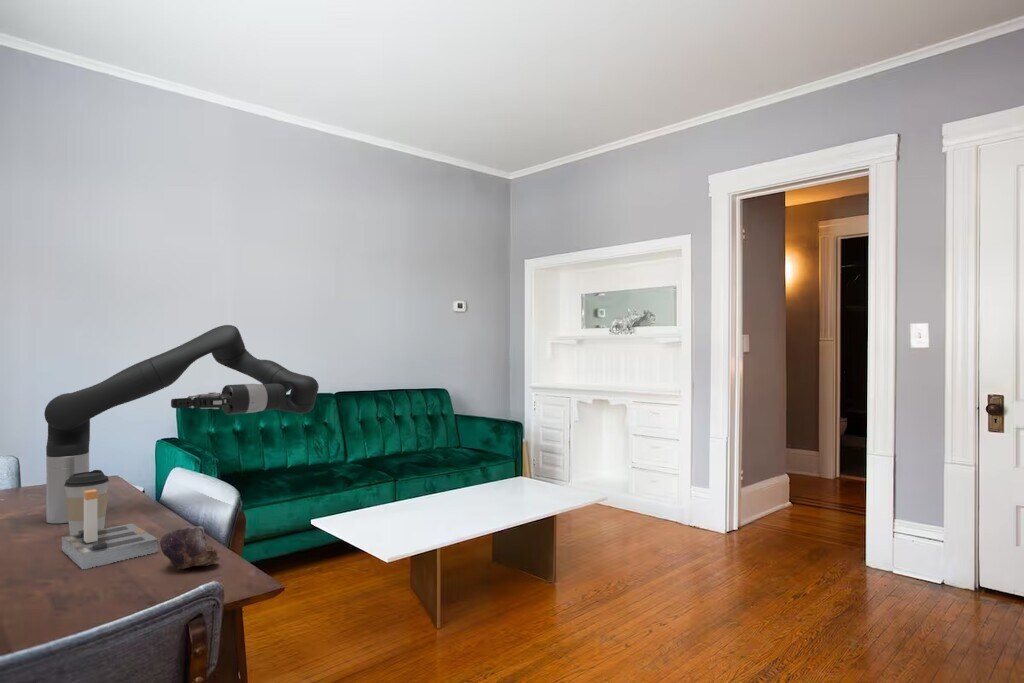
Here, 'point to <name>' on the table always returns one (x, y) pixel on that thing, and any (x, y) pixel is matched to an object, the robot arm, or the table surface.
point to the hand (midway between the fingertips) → (172, 403)
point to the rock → (188, 548)
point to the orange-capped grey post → (90, 515)
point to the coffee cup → (76, 500)
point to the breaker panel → (109, 546)
